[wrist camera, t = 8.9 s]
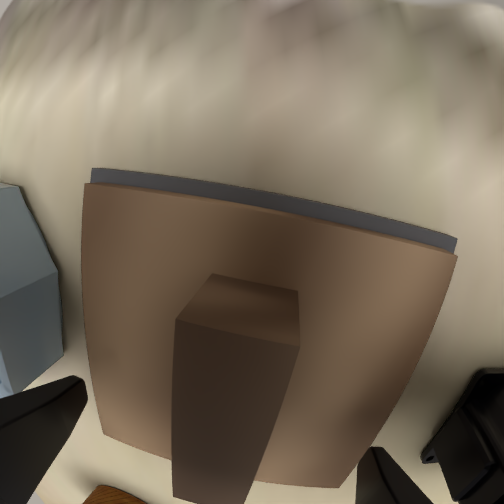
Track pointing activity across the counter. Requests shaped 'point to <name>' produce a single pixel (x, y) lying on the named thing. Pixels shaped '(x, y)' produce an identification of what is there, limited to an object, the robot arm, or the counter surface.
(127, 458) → the counter surface
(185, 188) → the mat
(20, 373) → the bowl
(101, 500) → the disposable coffee cup
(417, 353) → the cover
